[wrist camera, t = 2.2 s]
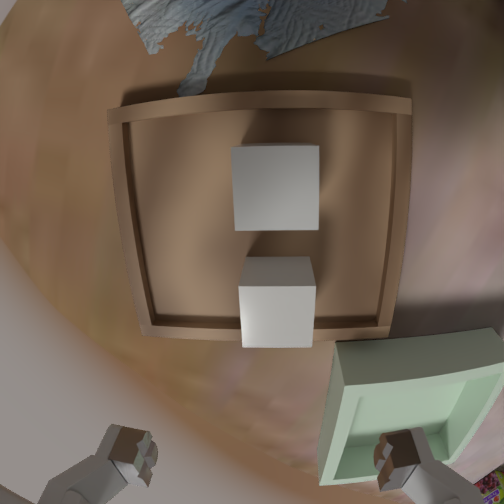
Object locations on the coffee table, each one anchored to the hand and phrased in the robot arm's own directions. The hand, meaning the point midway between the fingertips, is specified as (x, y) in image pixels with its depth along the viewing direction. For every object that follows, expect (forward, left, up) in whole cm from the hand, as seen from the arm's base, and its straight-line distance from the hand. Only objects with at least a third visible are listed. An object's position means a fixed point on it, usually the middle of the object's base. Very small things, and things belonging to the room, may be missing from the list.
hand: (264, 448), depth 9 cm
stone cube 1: (0, 0, -12) cm, 12 cm away
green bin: (-12, +13, -13) cm, 22 cm away
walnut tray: (+1, -4, -13) cm, 14 cm away
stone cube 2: (0, -7, -12) cm, 14 cm away
